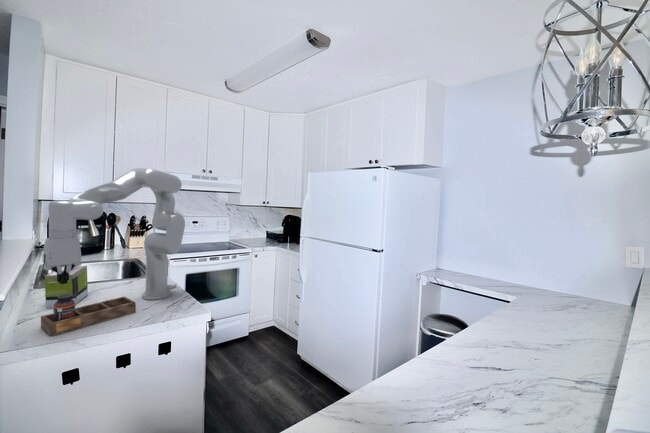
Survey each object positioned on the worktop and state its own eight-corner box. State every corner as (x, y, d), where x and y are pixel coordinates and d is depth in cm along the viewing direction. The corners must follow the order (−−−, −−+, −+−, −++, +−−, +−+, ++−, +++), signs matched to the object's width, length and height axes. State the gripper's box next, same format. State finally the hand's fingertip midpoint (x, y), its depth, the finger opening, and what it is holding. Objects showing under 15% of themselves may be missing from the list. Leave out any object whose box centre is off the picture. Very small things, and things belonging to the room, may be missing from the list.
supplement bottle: (62, 329, 110) (62, 299, 109) (49, 327, 111) (49, 297, 110) (78, 323, 115) (78, 294, 114) (66, 320, 117) (66, 292, 116)
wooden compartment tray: (124, 306, 135) (124, 296, 134) (135, 312, 129) (136, 302, 129) (41, 328, 111) (40, 316, 111) (51, 337, 106) (51, 324, 105)
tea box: (62, 296, 142) (62, 265, 140) (88, 295, 145) (88, 265, 143) (44, 308, 127) (44, 274, 126) (73, 307, 130) (73, 274, 129)
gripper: (83, 231, 118) (83, 277, 120) (31, 234, 105) (32, 285, 107) (91, 233, 114) (91, 281, 116) (38, 237, 101) (39, 290, 103)
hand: (63, 283), depth 111 cm, fingers closed
